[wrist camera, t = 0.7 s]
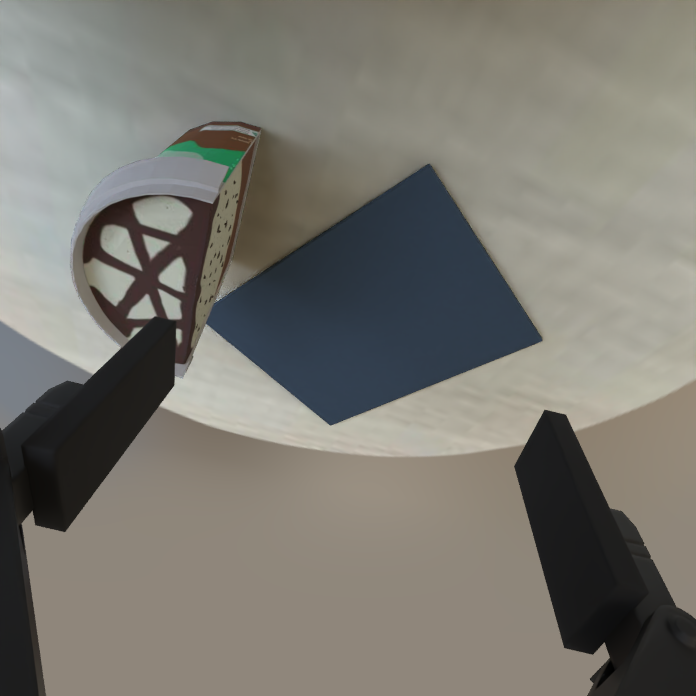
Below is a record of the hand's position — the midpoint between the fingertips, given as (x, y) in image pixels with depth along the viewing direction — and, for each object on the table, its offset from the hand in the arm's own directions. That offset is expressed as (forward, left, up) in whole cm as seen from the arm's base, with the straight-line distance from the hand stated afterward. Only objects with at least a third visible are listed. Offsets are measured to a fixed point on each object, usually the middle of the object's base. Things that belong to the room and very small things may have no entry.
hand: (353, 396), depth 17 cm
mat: (+9, -7, -16) cm, 19 cm away
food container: (-6, -9, -16) cm, 19 cm away
